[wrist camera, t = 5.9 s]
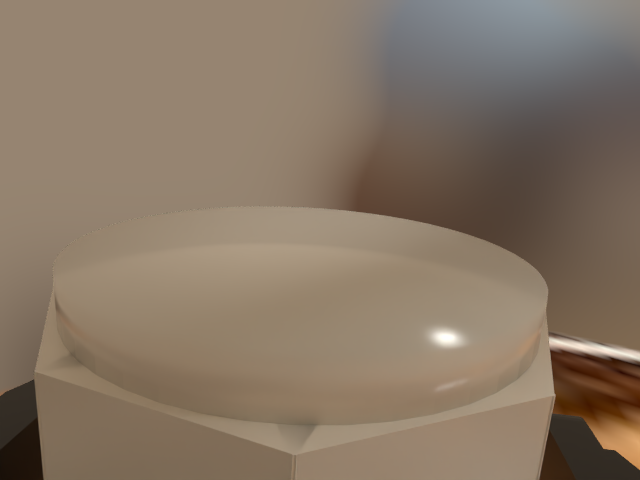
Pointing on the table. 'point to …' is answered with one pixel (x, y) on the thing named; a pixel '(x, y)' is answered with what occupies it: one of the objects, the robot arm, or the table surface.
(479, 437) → the cup
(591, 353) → the table surface
